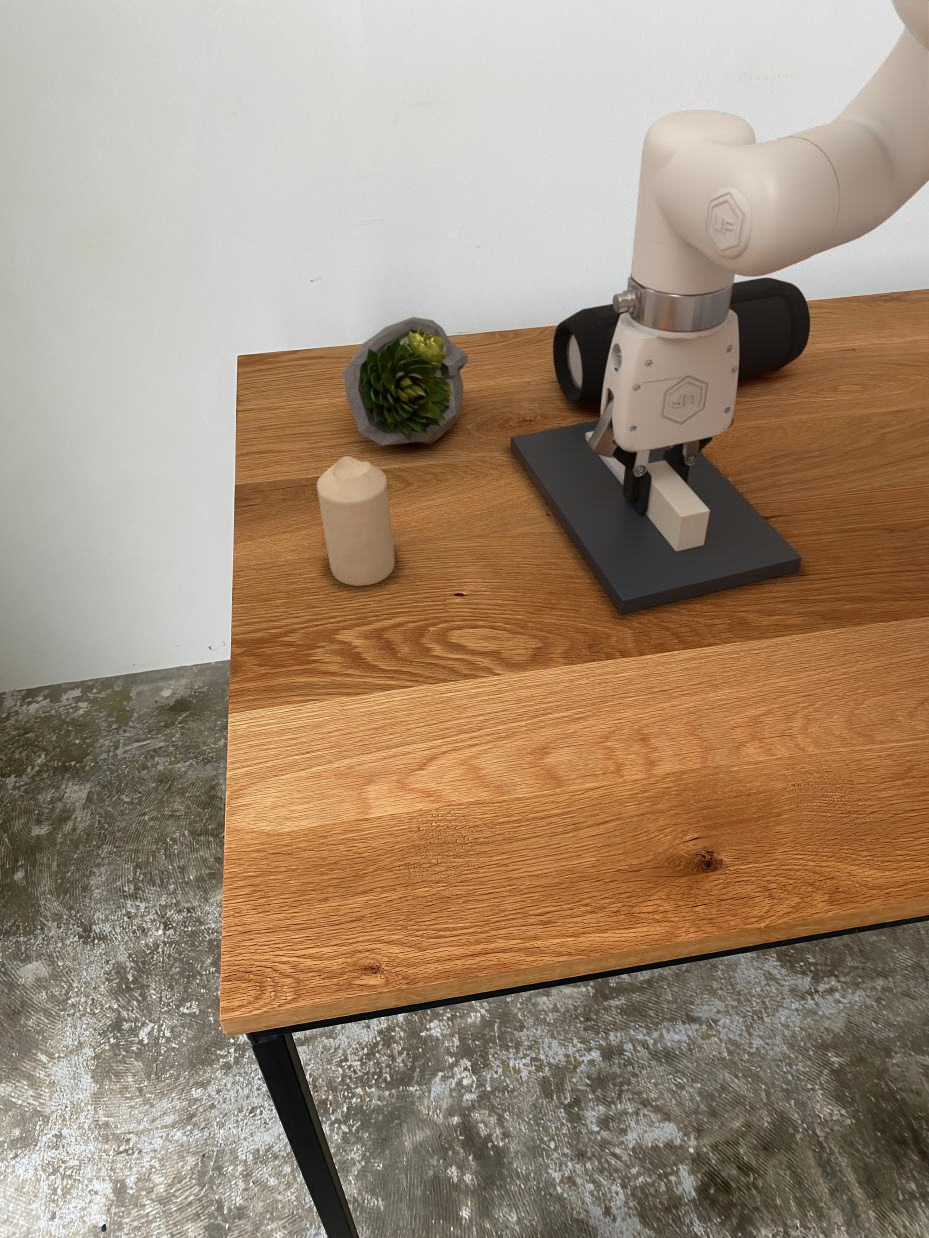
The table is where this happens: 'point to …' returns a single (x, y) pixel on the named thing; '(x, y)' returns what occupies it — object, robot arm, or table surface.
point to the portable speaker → (762, 306)
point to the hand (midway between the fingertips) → (653, 499)
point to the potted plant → (406, 383)
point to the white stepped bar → (670, 504)
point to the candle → (356, 522)
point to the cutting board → (649, 525)
